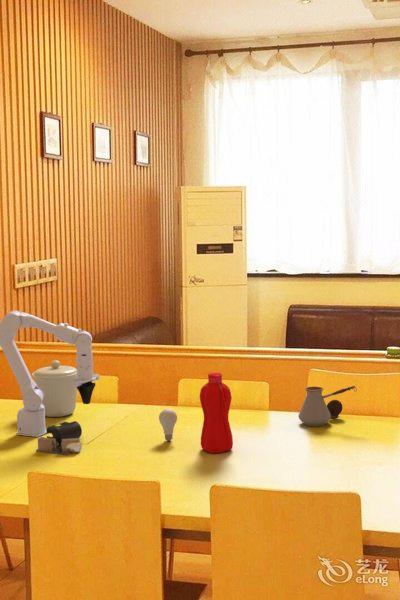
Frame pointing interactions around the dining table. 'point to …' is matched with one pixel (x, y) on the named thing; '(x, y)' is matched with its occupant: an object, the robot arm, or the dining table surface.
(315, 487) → the dining table surface
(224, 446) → the water bottle
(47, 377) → the canister
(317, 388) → the coffee pot
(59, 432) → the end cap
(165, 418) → the lightbulb
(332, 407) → the compass
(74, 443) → the shaft rig
